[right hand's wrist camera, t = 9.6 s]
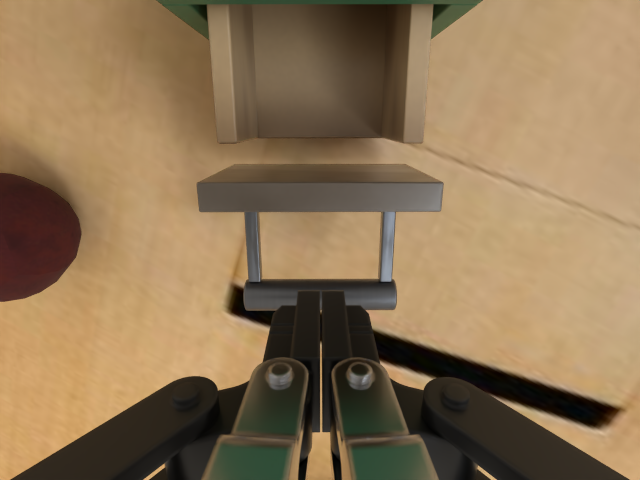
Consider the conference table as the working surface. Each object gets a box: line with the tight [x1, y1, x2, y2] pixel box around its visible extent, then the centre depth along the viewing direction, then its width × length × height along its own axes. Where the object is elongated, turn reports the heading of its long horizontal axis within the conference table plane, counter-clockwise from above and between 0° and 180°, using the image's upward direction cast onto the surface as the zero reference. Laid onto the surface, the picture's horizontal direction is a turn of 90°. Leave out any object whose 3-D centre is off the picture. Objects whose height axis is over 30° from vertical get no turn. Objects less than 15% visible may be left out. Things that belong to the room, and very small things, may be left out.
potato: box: [0, 173, 81, 302], centre depth 21 cm, size 7×8×7 cm
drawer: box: [197, 4, 444, 310], centre depth 17 cm, size 22×10×7 cm, turn 0°
